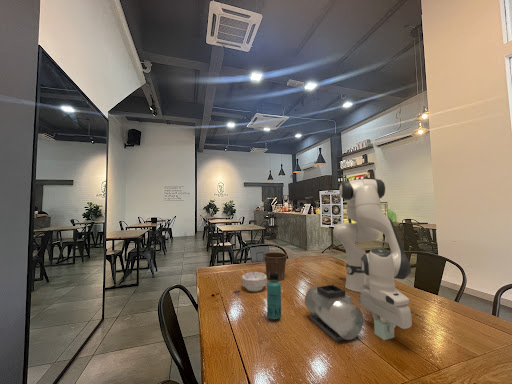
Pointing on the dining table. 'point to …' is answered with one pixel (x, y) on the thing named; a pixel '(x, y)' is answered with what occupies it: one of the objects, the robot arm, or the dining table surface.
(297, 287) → the dining table surface
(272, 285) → the beverage bottle
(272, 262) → the plant pot
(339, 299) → the motor
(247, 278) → the paper bowls
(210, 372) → the dining table surface
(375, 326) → the block
